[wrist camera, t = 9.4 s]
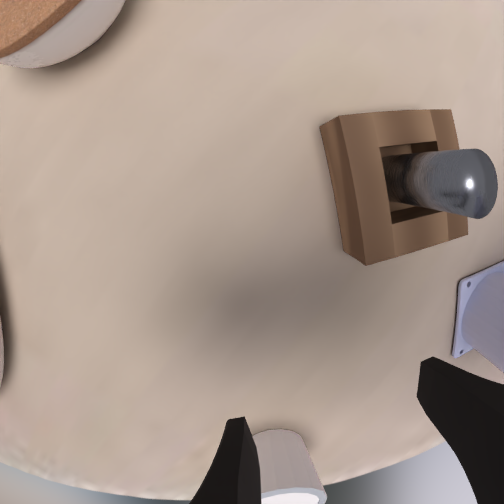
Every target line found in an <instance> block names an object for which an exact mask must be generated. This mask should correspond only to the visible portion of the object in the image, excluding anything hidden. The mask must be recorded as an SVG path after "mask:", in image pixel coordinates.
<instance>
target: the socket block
mask: <svg viewBox="0 0 504 504" xmlns="http://www.w3.org/2000/svg"><path fill="white" fill-rule="evenodd" d="M320 131H321V135H322V139H323V144H324V148H325V152H326V157H327V161H328V166H329V171H330V176H331V181H332V186H333V191H334V196H335V201H336V207H337V212H338V218H339V224H340V230H341V236H342V243H343V250H344V251H345V252H346V253H348V254H349V255H351V256H352V257H354V258H355V259H357V260H358V261H360V262H361V263H363V264H364V265H365V266H367V265H371V264H374V263H377V262H381V261H384V260H388V259H391V258H395V257H398V256H401V255H405V254H408V253H411V252H415V251H418V250H421V249H424V248H428V247H431V246H434V245H437V244H440V243H443V242H447V241H450V240H453V239H456V238H459V237H462V236H465V235H468V221H467V216H462V215H458V214H453V213H448V212H444V211H439V210H434V209H429V208H424V207H418V206H413V205H408V204H402V203H397V202H391V201H389V200H388V193H387V187H386V181H385V175H384V169H383V164H382V159H381V158H383V157H385V156H390V155H400V154H410V153H420V152H432V151H445V150H459V144H458V139H457V134H456V129H455V124H454V120H453V116H452V112H451V110H403V111H386V112H373V113H362V114H352V115H342V116H338V117H336V118H334V119H332V120H331V121H329V122H327V123H325V124H323V125H322V126H320Z"/></svg>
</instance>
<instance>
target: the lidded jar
mask: <svg viewBox="0 0 504 504" xmlns="http://www.w3.org/2000/svg"><path fill="white" fill-rule="evenodd" d="M124 3H125V0H0V64H3V65H8V66H13V67H19V68H39V67H45V66H50V65H54V64H56V63H59V62H62V61H65V60H67V59H69V58H71V57H73V56H75V55H77V54H78V53H80V52H82V51H83V50H85V49H86V48H88V47H89V46H91V45H92V44H94V43H95V42H96V41H97V40H98V39H99V38H100V37H101V36H102V35H103V34H104V33H105V32H106V31H107V30H108V28H109V27H110V25H111V24H112V23H113V22H114V20H115V19H116V17H117V16H118V14H119V13H120V11H121V9H122V7H123V5H124Z"/></svg>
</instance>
